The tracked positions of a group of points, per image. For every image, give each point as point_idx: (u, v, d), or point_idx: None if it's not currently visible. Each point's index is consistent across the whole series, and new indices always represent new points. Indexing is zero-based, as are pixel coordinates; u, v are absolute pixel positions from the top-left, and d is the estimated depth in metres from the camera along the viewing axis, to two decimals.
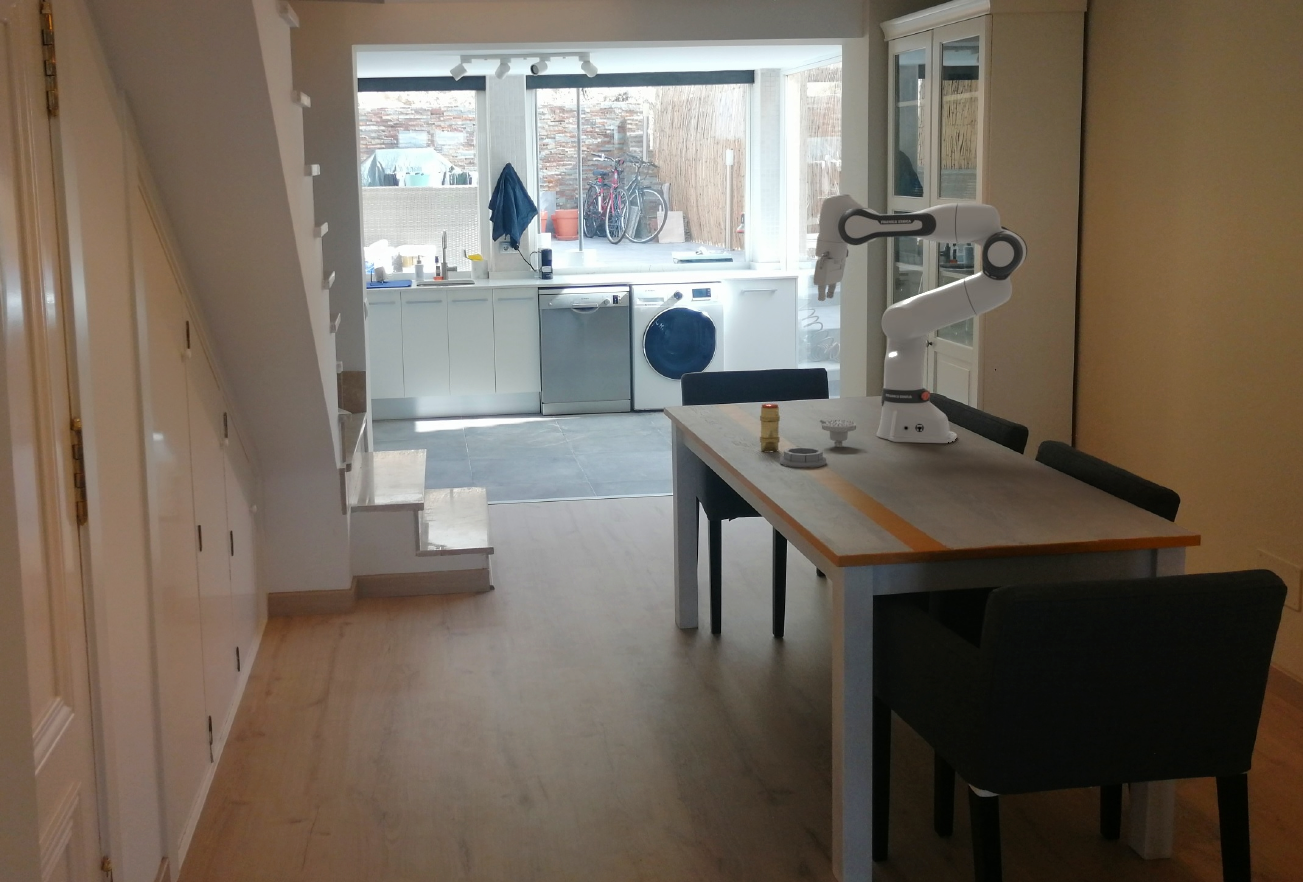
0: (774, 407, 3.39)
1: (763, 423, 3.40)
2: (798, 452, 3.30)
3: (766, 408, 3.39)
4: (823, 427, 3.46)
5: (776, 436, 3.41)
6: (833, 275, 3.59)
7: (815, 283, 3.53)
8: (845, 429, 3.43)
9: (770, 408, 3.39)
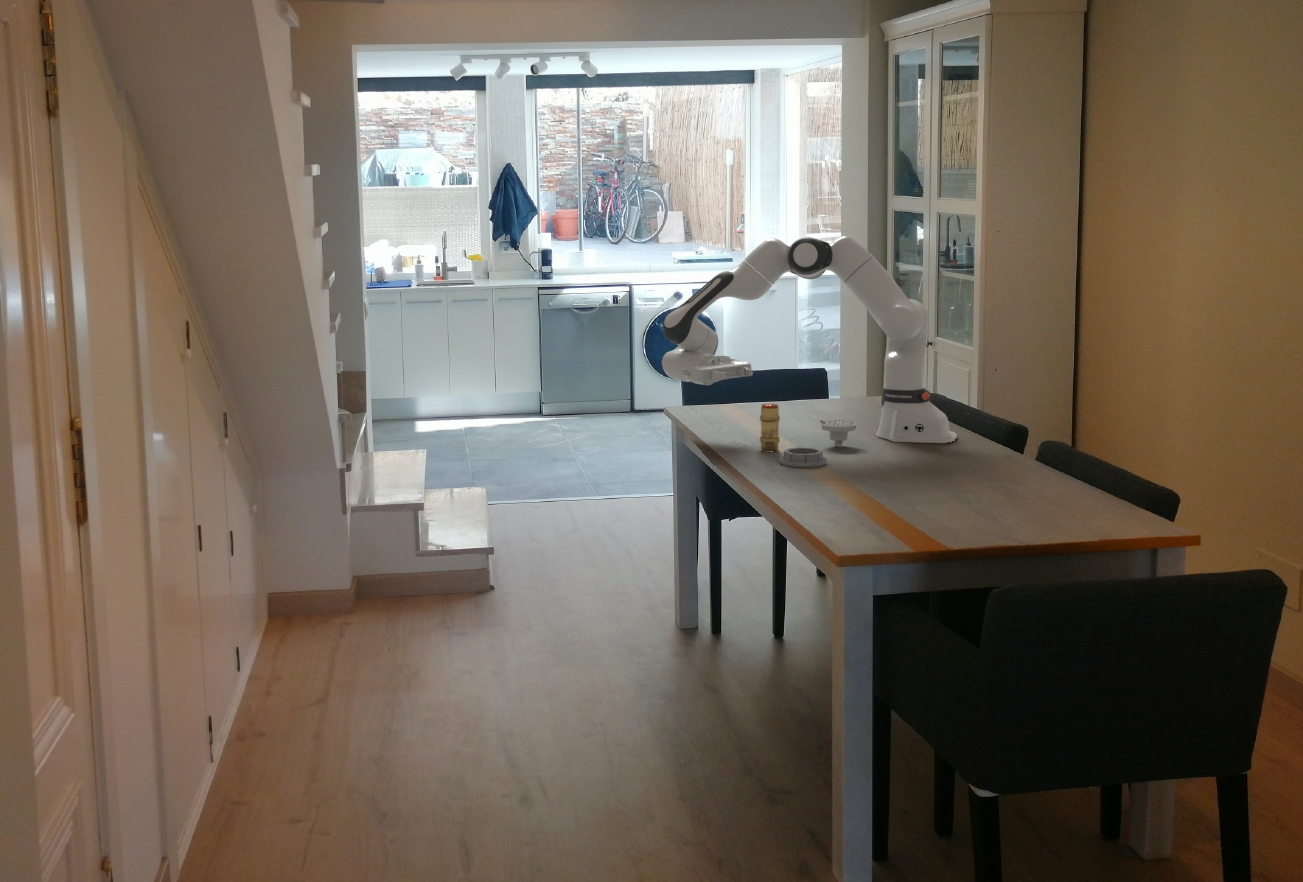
0: (774, 407, 3.39)
1: (763, 423, 3.40)
2: (798, 452, 3.30)
3: (766, 408, 3.39)
4: (823, 427, 3.46)
5: (776, 436, 3.41)
6: (717, 365, 3.53)
7: (700, 379, 3.47)
8: (845, 429, 3.43)
9: (770, 408, 3.39)
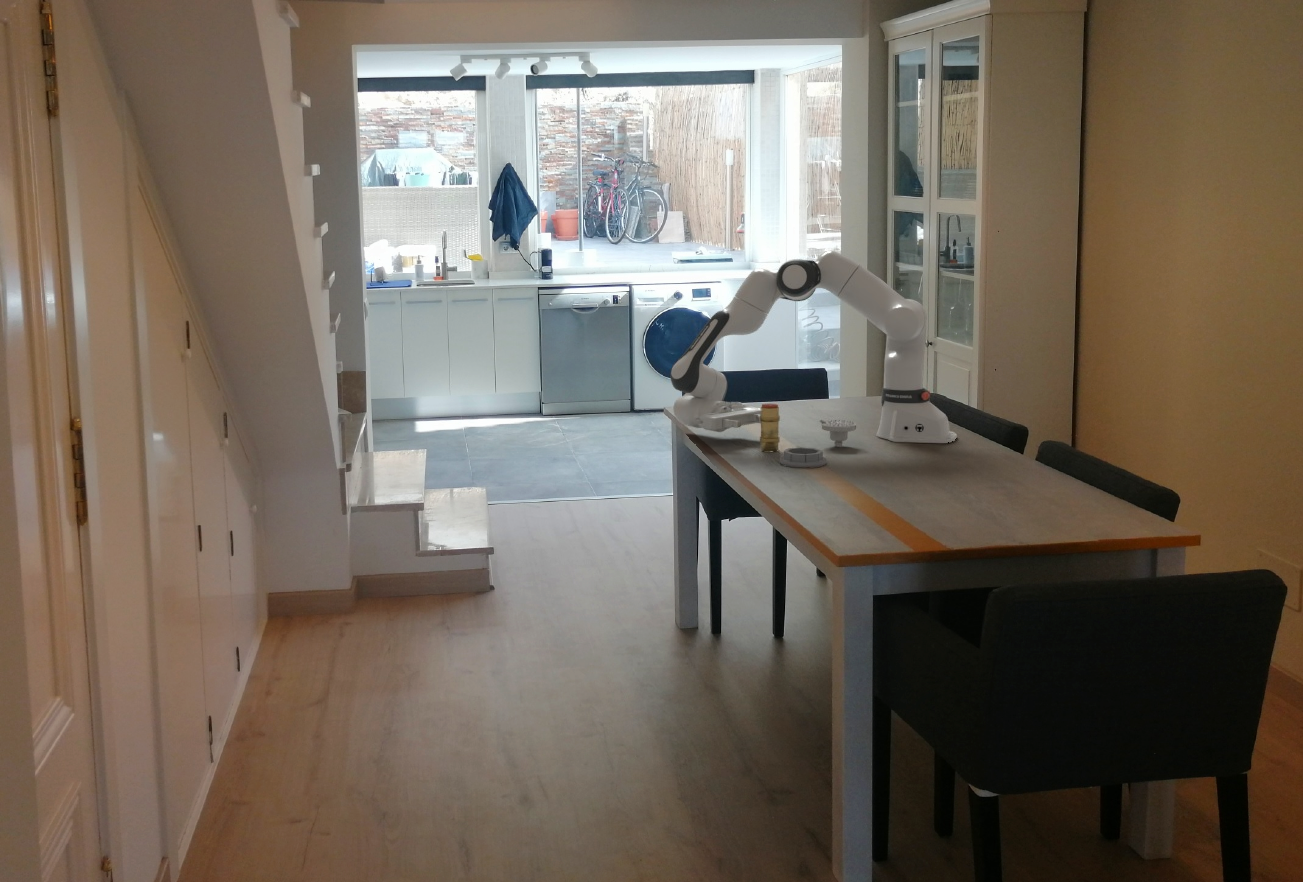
0: (774, 407, 3.39)
1: (763, 423, 3.40)
2: (798, 452, 3.30)
3: (766, 408, 3.39)
4: (823, 427, 3.46)
5: (776, 436, 3.41)
6: (729, 413, 3.52)
7: (713, 428, 3.46)
8: (845, 429, 3.43)
9: (770, 408, 3.39)
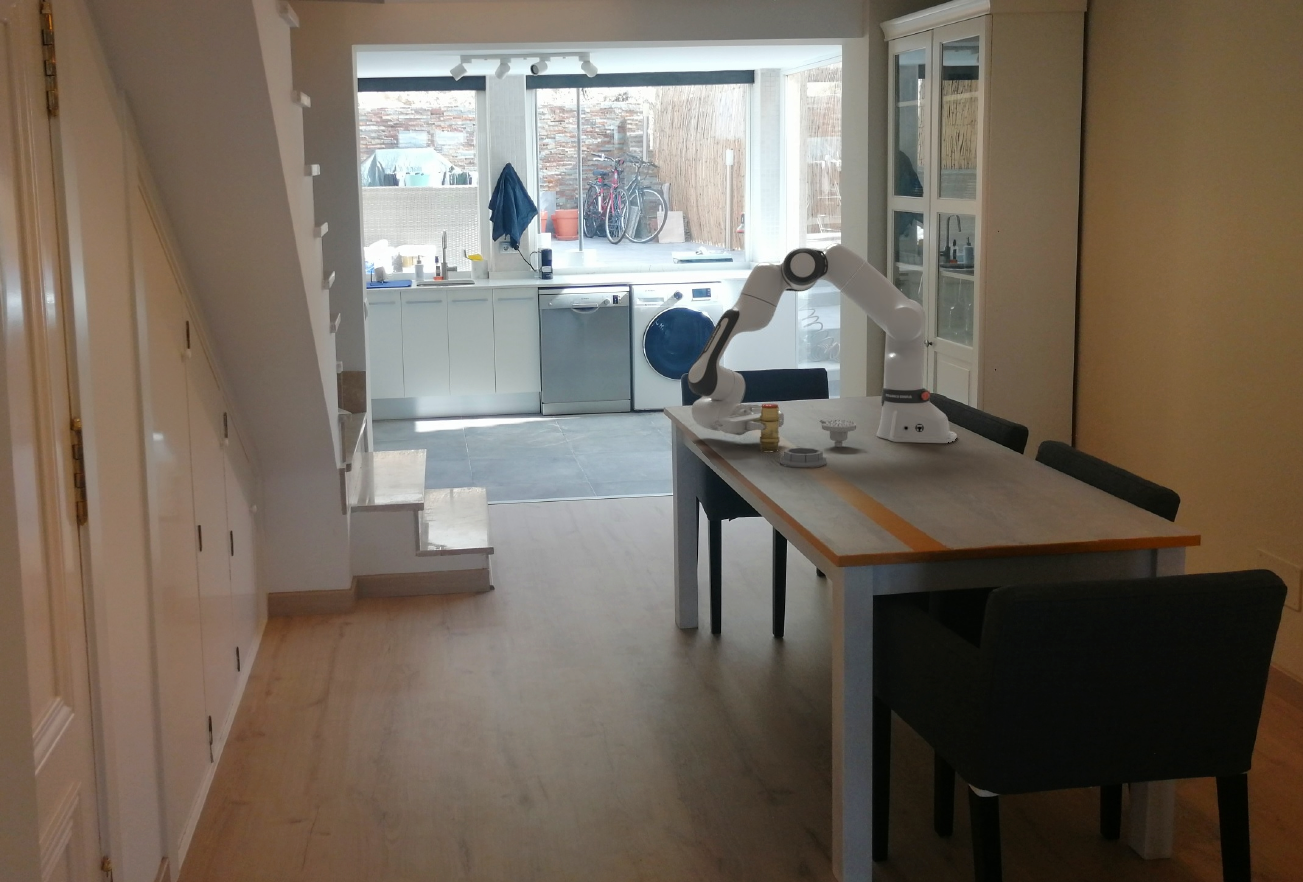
0: (774, 407, 3.39)
1: (763, 422, 3.40)
2: (798, 452, 3.30)
3: (766, 408, 3.39)
4: (823, 427, 3.46)
5: (776, 436, 3.41)
6: (750, 416, 3.46)
7: (733, 431, 3.39)
8: (845, 429, 3.43)
9: (770, 408, 3.39)
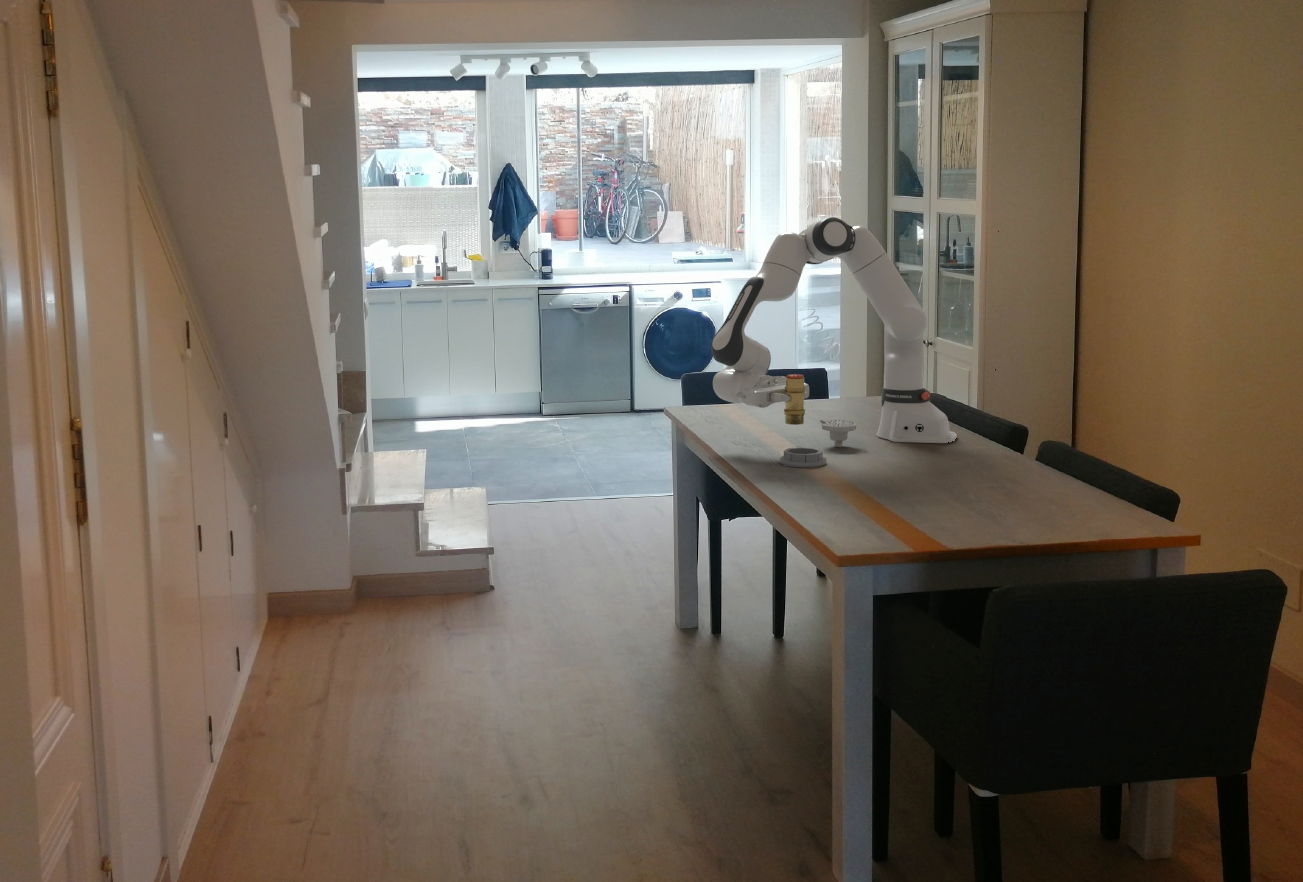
0: (799, 377, 3.25)
1: None
2: (798, 452, 3.30)
3: (791, 378, 3.25)
4: (823, 427, 3.46)
5: (801, 408, 3.27)
6: (774, 387, 3.31)
7: (756, 402, 3.25)
8: (845, 429, 3.43)
9: (795, 378, 3.25)
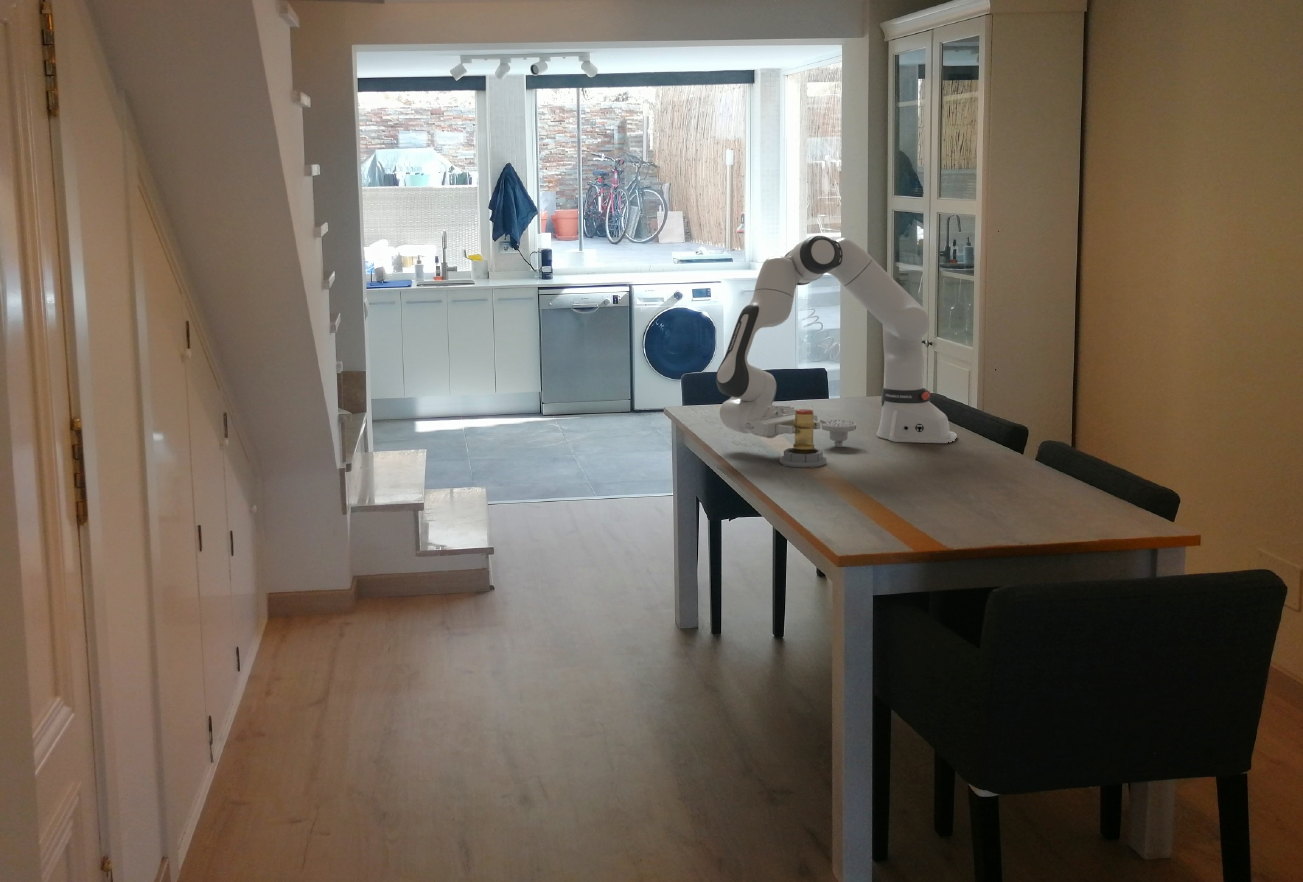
0: (809, 413, 3.23)
1: (798, 429, 3.24)
2: None
3: (800, 414, 3.23)
4: (823, 427, 3.46)
5: (811, 443, 3.24)
6: (782, 418, 3.29)
7: (765, 434, 3.22)
8: (845, 429, 3.43)
9: (805, 414, 3.22)
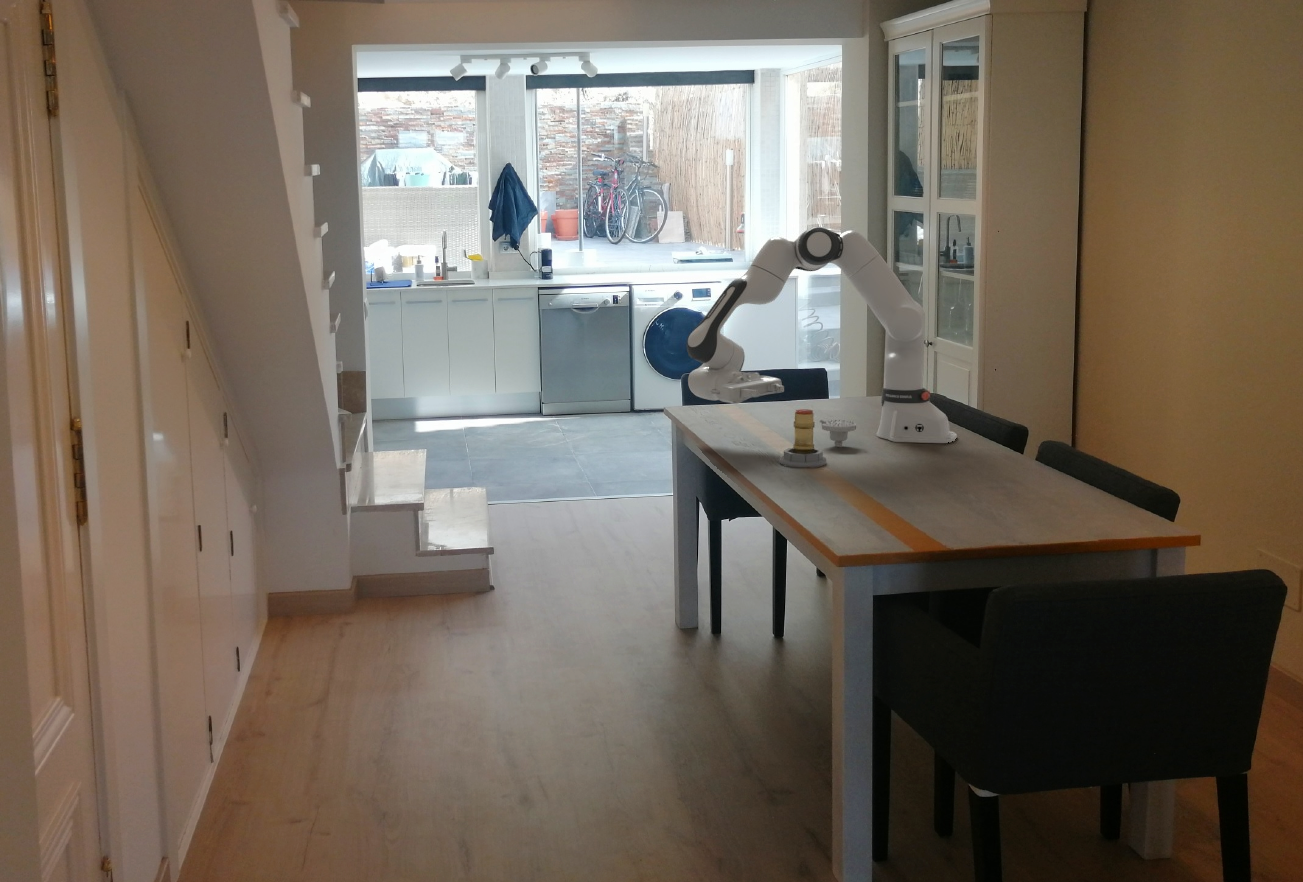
0: (809, 413, 3.22)
1: (797, 429, 3.24)
2: None
3: (800, 414, 3.23)
4: (823, 427, 3.46)
5: (811, 443, 3.24)
6: (747, 383, 3.41)
7: (730, 398, 3.34)
8: (845, 429, 3.43)
9: (805, 414, 3.22)
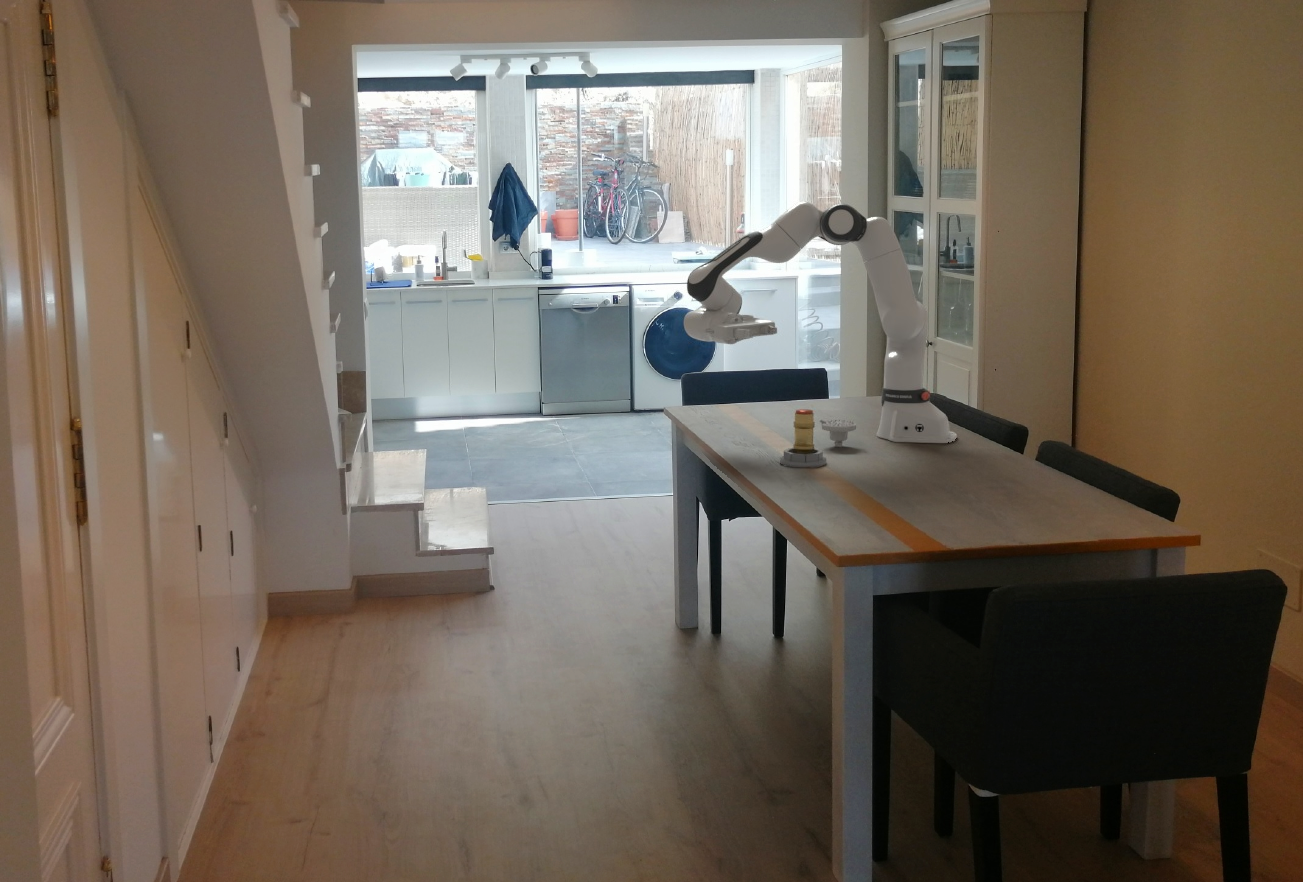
0: (809, 413, 3.22)
1: (797, 429, 3.24)
2: None
3: (800, 414, 3.23)
4: (823, 427, 3.46)
5: (811, 443, 3.24)
6: None
7: (724, 337, 3.40)
8: (845, 429, 3.43)
9: (805, 414, 3.22)
